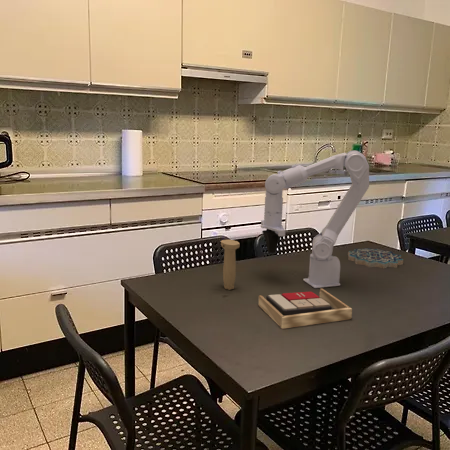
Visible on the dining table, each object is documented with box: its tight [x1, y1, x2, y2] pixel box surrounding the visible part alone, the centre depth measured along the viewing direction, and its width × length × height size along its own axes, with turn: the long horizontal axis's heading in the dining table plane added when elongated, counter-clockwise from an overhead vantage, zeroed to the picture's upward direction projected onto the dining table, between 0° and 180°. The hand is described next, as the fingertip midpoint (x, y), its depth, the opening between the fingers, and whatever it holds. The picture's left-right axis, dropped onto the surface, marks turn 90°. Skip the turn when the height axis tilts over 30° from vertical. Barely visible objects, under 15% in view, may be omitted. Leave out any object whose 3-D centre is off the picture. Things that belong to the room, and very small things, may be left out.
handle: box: [220, 239, 240, 291], centre depth 142 cm, size 5×6×15 cm
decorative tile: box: [347, 247, 404, 269], centre depth 176 cm, size 20×20×2 cm
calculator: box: [265, 291, 333, 316], centre depth 128 cm, size 11×4×15 cm
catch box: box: [258, 287, 353, 330], centre depth 127 cm, size 21×16×3 cm
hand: (271, 252), depth 150 cm, fingers closed
